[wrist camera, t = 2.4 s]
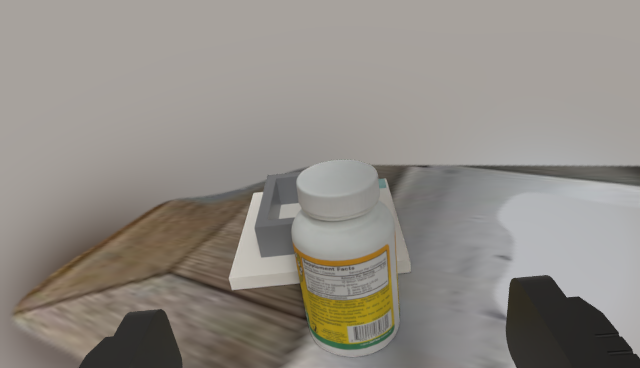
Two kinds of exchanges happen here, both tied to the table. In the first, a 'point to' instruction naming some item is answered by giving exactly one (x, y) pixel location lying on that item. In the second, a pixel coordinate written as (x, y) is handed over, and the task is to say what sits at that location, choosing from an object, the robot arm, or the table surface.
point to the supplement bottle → (346, 258)
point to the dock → (285, 236)
